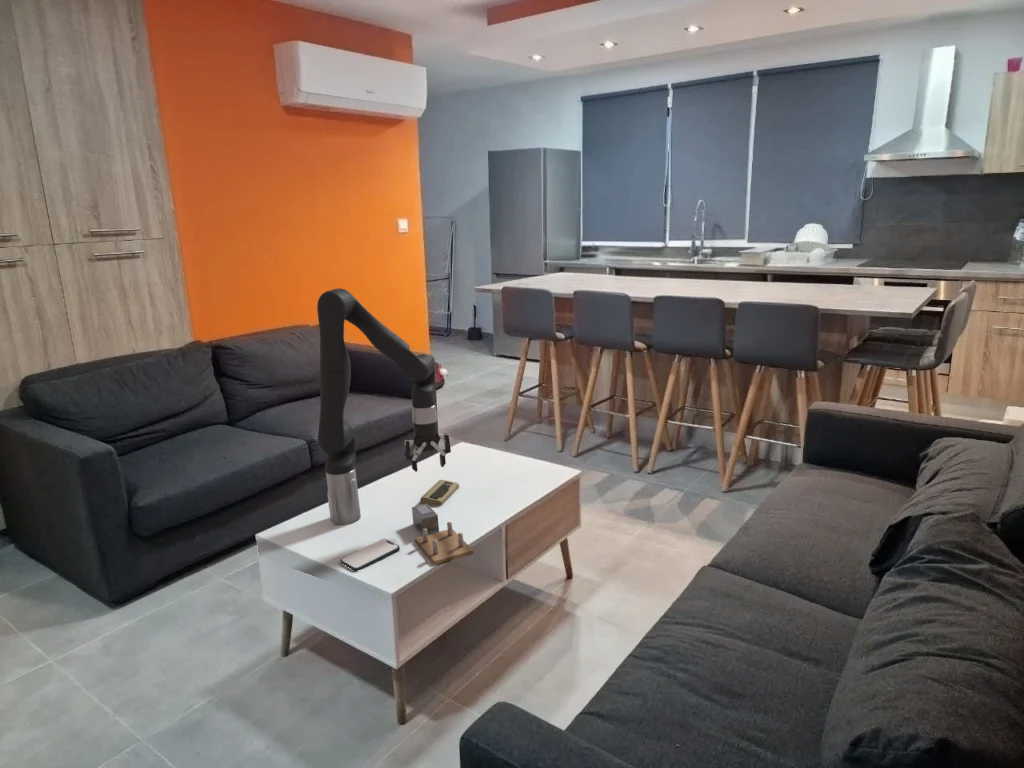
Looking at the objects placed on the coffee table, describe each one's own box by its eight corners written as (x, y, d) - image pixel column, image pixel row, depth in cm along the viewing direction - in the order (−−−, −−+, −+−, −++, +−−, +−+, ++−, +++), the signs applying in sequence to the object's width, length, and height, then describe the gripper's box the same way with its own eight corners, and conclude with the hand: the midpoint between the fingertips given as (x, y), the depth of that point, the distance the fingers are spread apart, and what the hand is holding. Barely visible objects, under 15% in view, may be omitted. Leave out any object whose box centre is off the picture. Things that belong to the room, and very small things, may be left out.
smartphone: (356, 574, 186) (402, 551, 197) (355, 569, 186) (401, 546, 197) (338, 564, 192) (384, 542, 203) (337, 559, 192) (383, 537, 203)
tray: (434, 565, 187) (432, 548, 186) (415, 542, 201) (413, 526, 200) (473, 553, 193) (472, 537, 191) (452, 532, 206) (450, 516, 205)
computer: (441, 507, 225) (441, 498, 225) (420, 505, 228) (419, 496, 227) (459, 488, 240) (459, 480, 239) (439, 487, 242) (438, 478, 242)
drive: (424, 537, 205) (422, 518, 203) (413, 524, 213) (411, 506, 212) (439, 532, 207) (437, 514, 205) (428, 520, 215) (426, 502, 214)
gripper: (404, 426, 201) (409, 476, 205) (450, 419, 205) (454, 468, 209) (399, 419, 207) (404, 468, 212) (444, 413, 212) (448, 460, 216)
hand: (429, 468), depth 210 cm, fingers open, 8 cm apart
